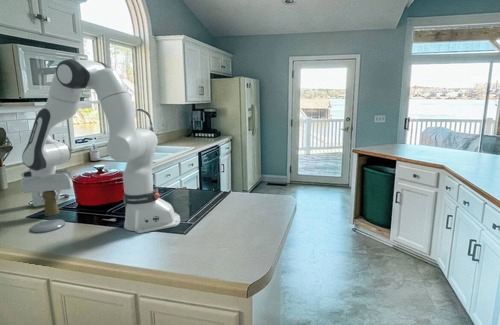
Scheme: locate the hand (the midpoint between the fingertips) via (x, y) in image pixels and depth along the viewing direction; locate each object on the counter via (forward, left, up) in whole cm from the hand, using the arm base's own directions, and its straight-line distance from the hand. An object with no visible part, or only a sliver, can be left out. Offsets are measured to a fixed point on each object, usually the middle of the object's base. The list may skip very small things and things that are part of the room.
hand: (50, 199), depth 148 cm
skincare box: (+9, -17, -7) cm, 20 cm away
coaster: (-4, +17, -7) cm, 19 cm away
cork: (0, 0, -7) cm, 7 cm away
